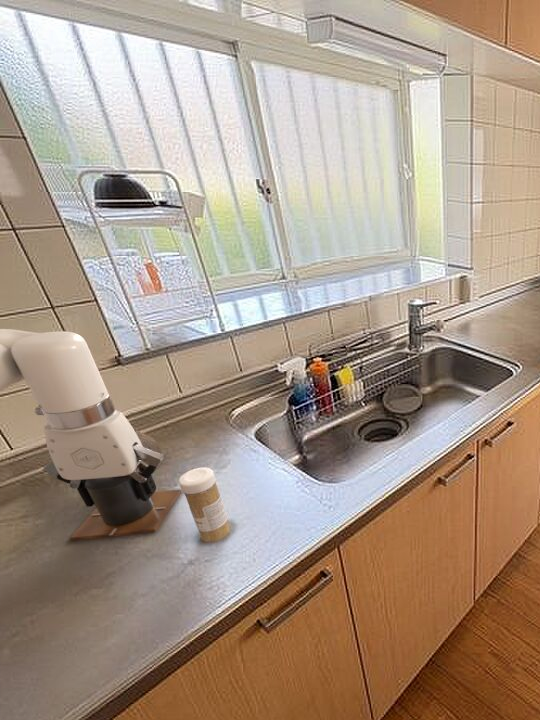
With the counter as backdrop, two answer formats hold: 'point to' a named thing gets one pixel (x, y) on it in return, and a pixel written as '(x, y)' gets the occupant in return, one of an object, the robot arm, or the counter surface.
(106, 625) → the counter surface
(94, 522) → the wooden board
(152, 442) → the vase
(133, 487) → the knob
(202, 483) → the sprinkles bottle
